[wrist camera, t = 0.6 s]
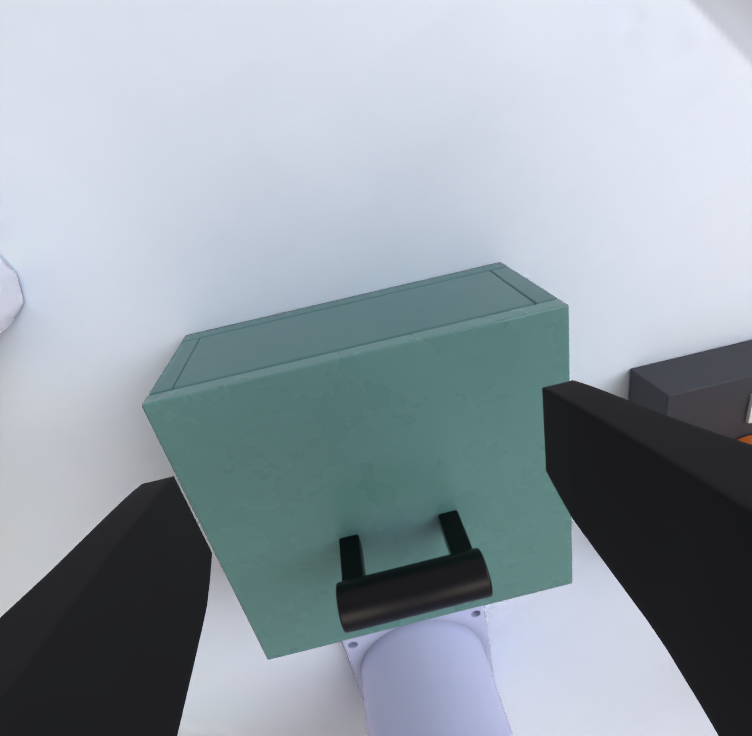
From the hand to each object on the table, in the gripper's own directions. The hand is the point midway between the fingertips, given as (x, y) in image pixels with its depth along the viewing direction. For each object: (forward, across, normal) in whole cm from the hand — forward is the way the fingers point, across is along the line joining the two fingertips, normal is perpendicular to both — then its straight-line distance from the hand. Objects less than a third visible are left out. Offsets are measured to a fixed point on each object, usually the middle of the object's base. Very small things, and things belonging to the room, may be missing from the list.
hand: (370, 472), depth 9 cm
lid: (+5, 0, +6) cm, 8 cm away
